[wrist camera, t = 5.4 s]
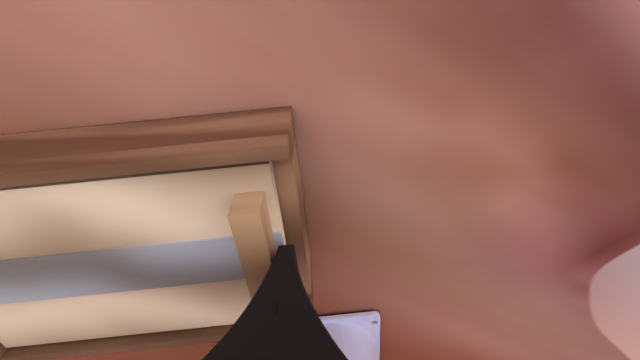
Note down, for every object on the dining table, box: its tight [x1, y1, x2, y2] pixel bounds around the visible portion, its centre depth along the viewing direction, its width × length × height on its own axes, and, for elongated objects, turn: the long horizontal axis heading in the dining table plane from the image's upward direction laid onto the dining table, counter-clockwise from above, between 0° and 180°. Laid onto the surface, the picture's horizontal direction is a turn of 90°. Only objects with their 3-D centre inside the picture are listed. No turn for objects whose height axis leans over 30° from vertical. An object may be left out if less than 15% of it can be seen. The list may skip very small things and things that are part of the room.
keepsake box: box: [0, 106, 313, 360], centre depth 16 cm, size 11×18×6 cm, turn 95°
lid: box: [0, 161, 286, 348], centre depth 14 cm, size 9×16×2 cm, turn 95°
